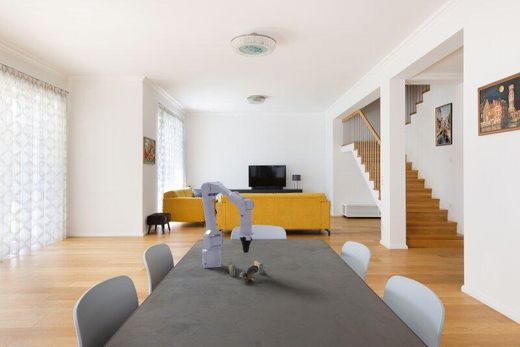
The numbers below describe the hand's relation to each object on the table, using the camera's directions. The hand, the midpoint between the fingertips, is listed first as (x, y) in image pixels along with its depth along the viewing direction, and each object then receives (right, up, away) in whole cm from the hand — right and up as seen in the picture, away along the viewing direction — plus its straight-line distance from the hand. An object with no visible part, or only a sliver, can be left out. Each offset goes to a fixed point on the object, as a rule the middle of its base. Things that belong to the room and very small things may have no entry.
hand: (245, 252), depth 150 cm
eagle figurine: (+2, -11, -10) cm, 15 cm away
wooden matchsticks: (-1, -10, +5) cm, 11 cm away
